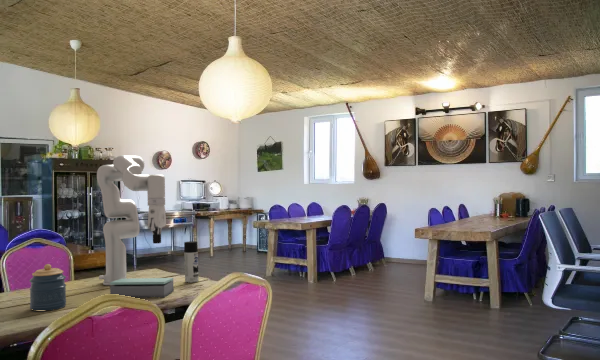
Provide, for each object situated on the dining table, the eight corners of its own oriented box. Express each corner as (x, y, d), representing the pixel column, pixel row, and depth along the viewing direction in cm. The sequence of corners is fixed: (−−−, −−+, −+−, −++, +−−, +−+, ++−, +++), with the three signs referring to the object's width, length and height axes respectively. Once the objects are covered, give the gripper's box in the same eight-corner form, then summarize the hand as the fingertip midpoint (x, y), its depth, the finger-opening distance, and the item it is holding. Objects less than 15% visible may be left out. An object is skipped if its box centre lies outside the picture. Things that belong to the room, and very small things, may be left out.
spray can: (195, 283, 232) (194, 242, 232) (182, 282, 233) (181, 242, 234) (200, 280, 239) (199, 241, 239) (188, 280, 240) (187, 241, 240)
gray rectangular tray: (110, 298, 204) (110, 286, 204) (122, 291, 215) (122, 280, 216) (164, 297, 202) (164, 285, 202) (173, 291, 214) (173, 280, 214)
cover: (110, 284, 204) (110, 282, 204) (122, 280, 216) (122, 278, 216) (164, 284, 202) (164, 281, 202) (173, 280, 214) (173, 277, 214)
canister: (27, 313, 180) (27, 267, 180) (32, 306, 192) (31, 263, 192) (65, 309, 185) (64, 264, 186) (67, 302, 197) (66, 260, 197)
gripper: (158, 202, 201) (159, 245, 201) (170, 201, 216) (170, 241, 216) (141, 202, 202) (142, 245, 202) (154, 201, 217) (154, 241, 217)
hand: (157, 243), depth 209 cm, fingers closed
